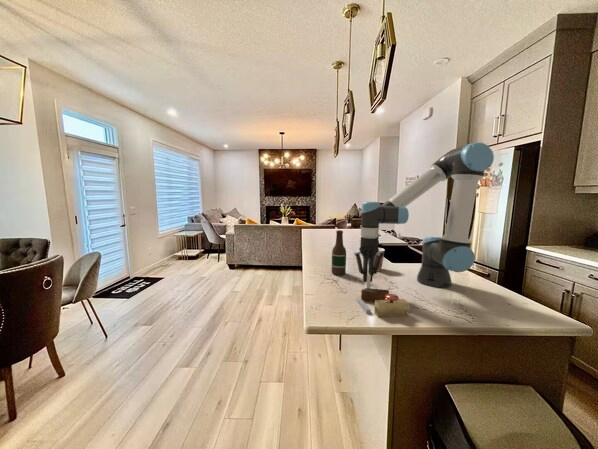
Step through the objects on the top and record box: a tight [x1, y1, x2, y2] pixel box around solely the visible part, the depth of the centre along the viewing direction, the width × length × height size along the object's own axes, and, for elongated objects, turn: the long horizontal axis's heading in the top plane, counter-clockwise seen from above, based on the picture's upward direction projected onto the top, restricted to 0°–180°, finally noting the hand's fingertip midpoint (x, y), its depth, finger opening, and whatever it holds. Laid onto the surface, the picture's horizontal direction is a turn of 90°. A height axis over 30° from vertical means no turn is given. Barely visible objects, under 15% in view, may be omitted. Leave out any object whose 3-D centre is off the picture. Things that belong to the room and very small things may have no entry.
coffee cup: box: [368, 247, 386, 272], centre depth 147 cm, size 10×10×12 cm
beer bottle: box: [331, 229, 347, 276], centre depth 137 cm, size 8×8×24 cm
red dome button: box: [374, 293, 409, 318], centre depth 89 cm, size 11×4×7 cm, turn 96°
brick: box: [360, 287, 390, 303], centre depth 102 cm, size 11×4×5 cm, turn 75°
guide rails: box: [356, 297, 412, 315], centre depth 96 cm, size 17×10×2 cm, turn 96°
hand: (367, 288), depth 112 cm, fingers closed
